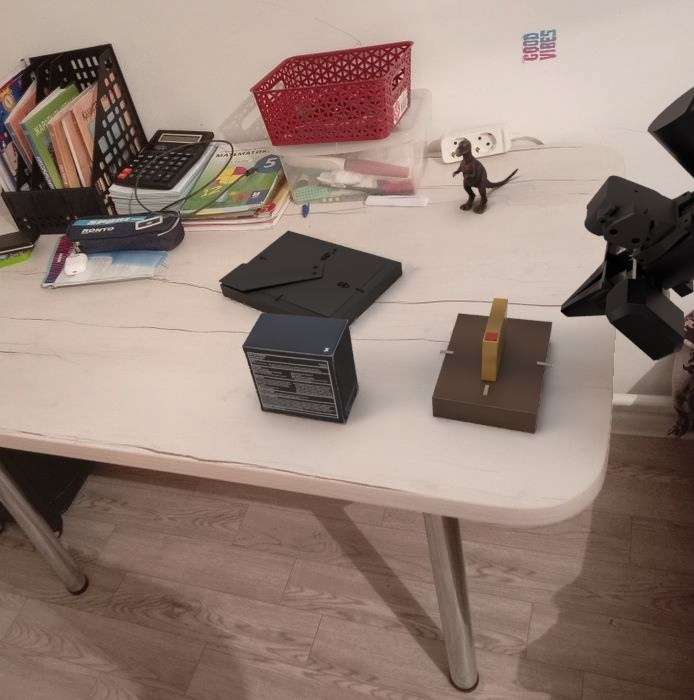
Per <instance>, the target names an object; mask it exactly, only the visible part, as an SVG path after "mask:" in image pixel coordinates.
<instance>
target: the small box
mask: <svg viewBox="0 0 694 700" xmlns="http://www.w3.org/2000/svg"><path fill="white" fill-rule="evenodd" d="M350 330H351V329H350V325H349V321H348V320H347V319H335V318H321V317H308V316H295V315H282V314H270V313H265V312H261V313H260V315H259V317H258V318H257V320H256V321H255V323H254V325H253V326H252V328H251V330H250V331H249V334H248V335H247V337H246V338H245V341H244V342H243V344H242V345H241V348H242V351H243V353H244V356H245V359H246V361H247V366H248V369H249V372H250V375H251V379H252V381H253V385H254V389H255V392H256V396H257V398H258V402H259V406H260V410H261V411H262V412H268V413H274V414H281V415H287V416H292V417H298V418H305V419H312V420H318V421H324V422H329V423H330V422H331V423H337V424H343V425H344V424H345V423H346V422H347V421H348V418H349V415H350V411H351V409H352V406H353V403H354V400H355V399H356V397H357V394H358V391H359V386H360V385H359V382H358V376H357V368H356V362H355V356H354V350H353V343H352V335H351V331H350Z"/></svg>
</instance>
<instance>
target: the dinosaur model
mask: <svg viewBox="0 0 694 700" xmlns="http://www.w3.org/2000/svg"><path fill="white" fill-rule="evenodd" d="M454 154H455V157H457V158H460V157H462V160H461V161H460V163H459V166H458V168H457V169H456V170H455V171H453V172H452V178H455V177H456V176H457V175H459V174H460V173H462V179H463V180H462V187H463V190H464V191H465V193H466V194H467V195H468V199H467V201H466V202H465V203H463V204H460V207H459V208H460V210H463V211H466V210H467V211H468V210H470V209H471V208H472V206H473V205H474V202H475V199H476V197H477V195H476V193H475V192H474V190H473V188H475V189H477V190H478V195H479V196H480V200H479V203H478V204H477V205H476V206H474V207H473V209H472V212H474V214H482V213H483V212H485V210H486V208H487V205H488V204H487V203H488V201H489V200H488V196H487V190H489V189H495V188H499V187H501V186H504V185H505V183H507V182H508V181H510V179H512V178H513V177H514V176H515V175H516V173H517V172H518V171H519V170H520V169H519V168H516V169H515V170H514V171H512V172H511V173H510V174H509V175H508V176H507V177H506V178H505V179H503V180H501V181H497V182H492V181H491V180H489V179H488V172H487V169H486V168H485V166H484V165H483V163H482V162H481V161H480V160H478V159H477V158H476V156H474V155H473V152H472V142H471V141H470V140H468V139H465V140H460V141H459V142H458V146H457V147H456V149H455V151H454Z"/></svg>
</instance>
